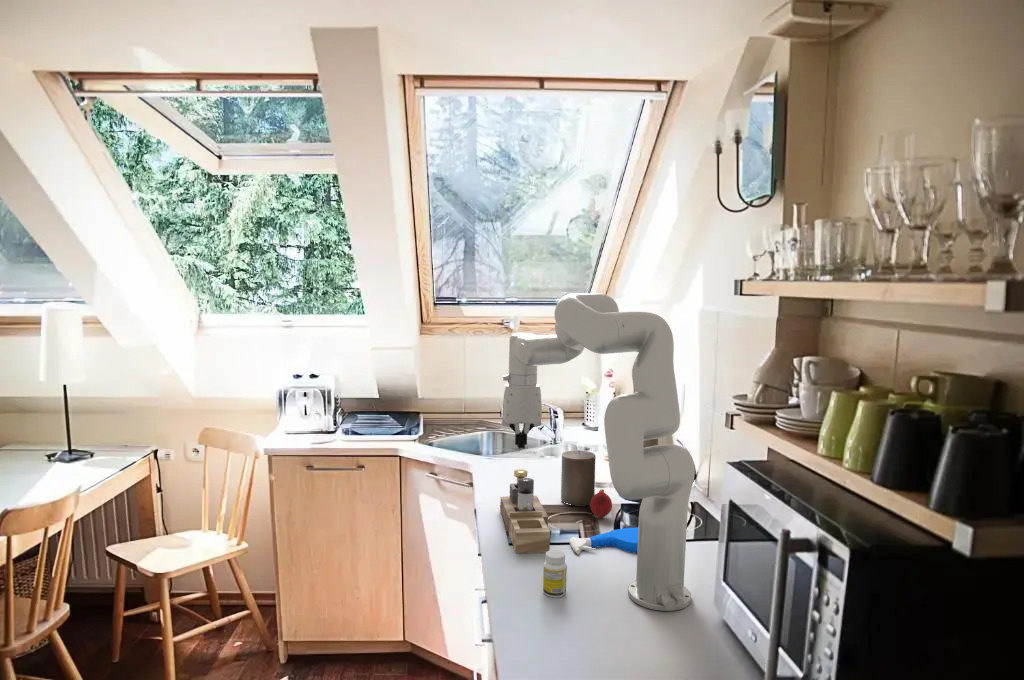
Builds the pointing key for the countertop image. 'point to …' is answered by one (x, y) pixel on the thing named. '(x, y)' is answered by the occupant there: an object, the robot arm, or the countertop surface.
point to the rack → (529, 532)
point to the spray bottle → (608, 540)
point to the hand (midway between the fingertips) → (520, 447)
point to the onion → (601, 504)
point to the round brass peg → (520, 474)
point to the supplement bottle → (554, 574)
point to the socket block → (511, 505)
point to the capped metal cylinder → (525, 494)
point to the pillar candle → (578, 477)
